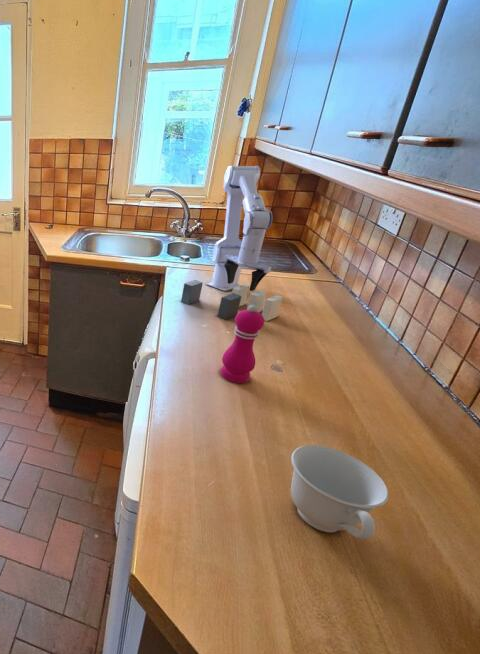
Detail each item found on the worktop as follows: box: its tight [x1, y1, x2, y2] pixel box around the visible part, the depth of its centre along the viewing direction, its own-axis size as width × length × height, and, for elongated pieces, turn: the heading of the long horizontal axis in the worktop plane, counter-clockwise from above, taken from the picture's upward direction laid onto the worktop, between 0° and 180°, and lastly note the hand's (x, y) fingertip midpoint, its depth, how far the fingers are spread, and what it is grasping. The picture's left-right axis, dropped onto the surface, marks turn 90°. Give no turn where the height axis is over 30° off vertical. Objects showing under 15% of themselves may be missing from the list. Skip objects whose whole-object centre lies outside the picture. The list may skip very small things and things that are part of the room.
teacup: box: [290, 444, 390, 540], centre depth 64 cm, size 12×15×10 cm
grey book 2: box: [216, 292, 242, 320], centre depth 132 cm, size 6×3×7 cm, turn 120°
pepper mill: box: [220, 305, 265, 384], centre depth 99 cm, size 7×7×20 cm
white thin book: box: [231, 284, 250, 308], centre depth 139 cm, size 6×2×7 cm, turn 120°
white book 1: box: [246, 289, 268, 313], centre depth 134 cm, size 6×2×7 cm, turn 120°
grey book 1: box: [180, 279, 204, 305], centre depth 143 cm, size 6×3×7 cm, turn 120°
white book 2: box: [261, 294, 284, 322], centre depth 130 cm, size 6×2×7 cm, turn 120°
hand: (240, 286), depth 137 cm, fingers open, 7 cm apart
